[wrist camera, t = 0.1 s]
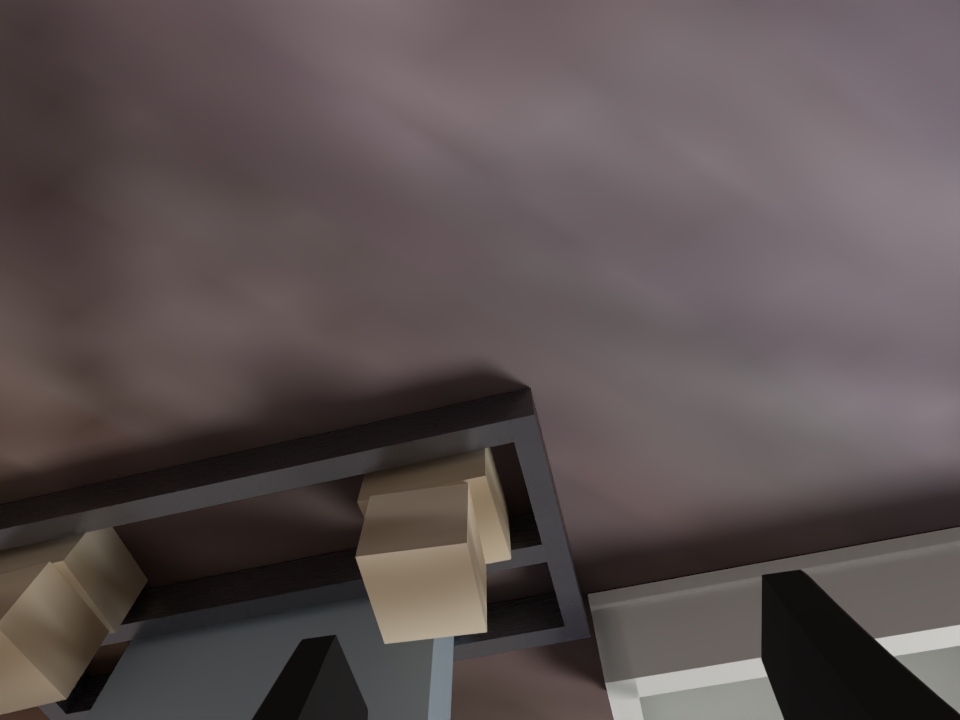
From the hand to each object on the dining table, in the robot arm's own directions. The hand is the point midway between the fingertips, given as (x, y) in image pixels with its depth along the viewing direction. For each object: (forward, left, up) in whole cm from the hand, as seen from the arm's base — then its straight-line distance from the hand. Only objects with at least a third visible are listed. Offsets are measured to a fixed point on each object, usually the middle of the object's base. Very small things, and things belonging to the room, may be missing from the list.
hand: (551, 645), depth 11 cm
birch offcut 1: (-4, +18, -10) cm, 21 cm away
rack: (-6, +11, -10) cm, 16 cm away
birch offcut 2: (-4, +18, -8) cm, 20 cm away
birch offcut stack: (-4, +4, -10) cm, 11 cm away
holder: (-13, -8, -10) cm, 19 cm away
